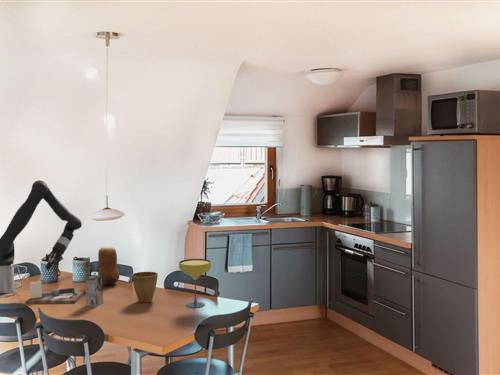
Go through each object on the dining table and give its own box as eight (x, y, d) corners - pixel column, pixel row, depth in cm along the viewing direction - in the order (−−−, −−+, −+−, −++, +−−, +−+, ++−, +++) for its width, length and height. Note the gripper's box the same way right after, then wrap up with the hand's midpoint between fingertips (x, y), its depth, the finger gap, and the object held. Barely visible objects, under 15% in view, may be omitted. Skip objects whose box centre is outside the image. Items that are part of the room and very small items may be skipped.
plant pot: (163, 299, 324) (162, 272, 322) (148, 305, 310) (147, 278, 309) (142, 296, 330) (142, 270, 329) (127, 302, 316) (126, 275, 315)
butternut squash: (110, 281, 367) (109, 244, 365) (123, 283, 360) (122, 246, 358) (93, 285, 356) (92, 247, 354) (106, 288, 348) (106, 249, 346)
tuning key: (73, 291, 331) (73, 277, 331) (74, 293, 328) (74, 278, 327) (30, 296, 321) (29, 281, 320) (30, 298, 317) (30, 283, 316)
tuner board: (25, 303, 315) (25, 299, 314) (38, 294, 335) (38, 290, 334) (74, 303, 316) (74, 298, 315) (84, 293, 336) (84, 289, 335)
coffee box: (93, 301, 318) (92, 274, 317) (103, 302, 317) (102, 275, 316) (85, 306, 309) (84, 278, 308) (95, 307, 308) (95, 279, 307)
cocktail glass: (175, 302, 316) (175, 260, 314) (205, 299, 323) (205, 257, 321) (184, 311, 299) (184, 266, 297) (215, 307, 306) (215, 263, 304)
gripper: (49, 241, 340) (35, 264, 330) (66, 242, 335) (52, 266, 325) (56, 248, 346) (42, 271, 335) (72, 249, 340) (58, 273, 330)
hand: (47, 268), depth 330 cm, fingers closed
